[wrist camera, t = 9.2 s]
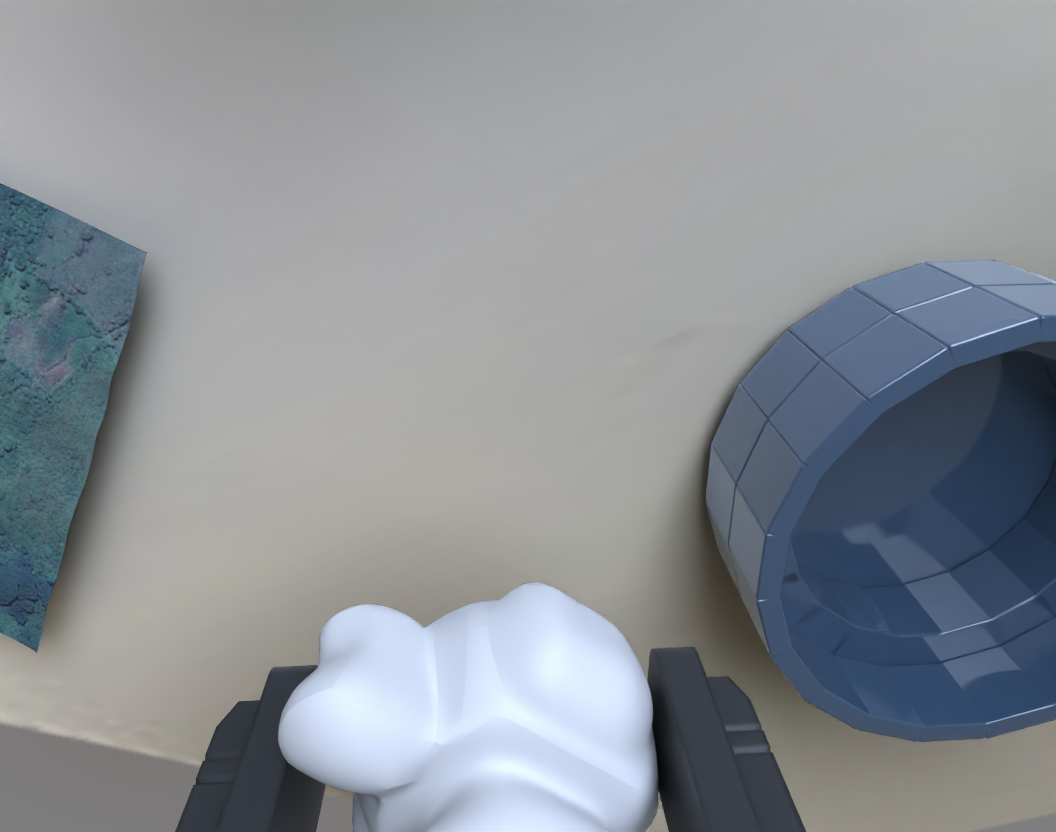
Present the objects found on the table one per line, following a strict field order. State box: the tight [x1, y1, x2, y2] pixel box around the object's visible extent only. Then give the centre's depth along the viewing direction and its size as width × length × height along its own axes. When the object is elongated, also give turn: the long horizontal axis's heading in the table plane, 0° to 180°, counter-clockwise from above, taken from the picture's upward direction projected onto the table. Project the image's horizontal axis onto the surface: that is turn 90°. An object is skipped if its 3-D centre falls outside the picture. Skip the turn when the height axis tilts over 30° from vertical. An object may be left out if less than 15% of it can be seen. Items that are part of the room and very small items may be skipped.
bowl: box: [705, 260, 1056, 742], centre depth 20 cm, size 12×12×5 cm
